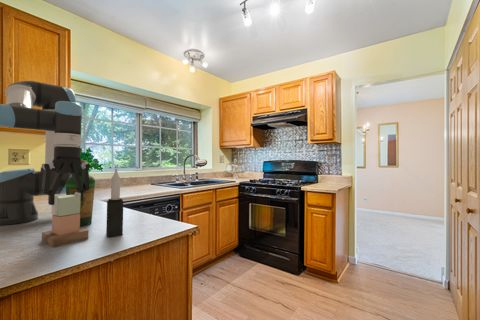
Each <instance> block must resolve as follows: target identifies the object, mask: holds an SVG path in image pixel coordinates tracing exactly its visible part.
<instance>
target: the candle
mask: <svg viewBox="0 0 480 320" xmlns="http://www.w3.org/2000/svg"><path fill="white" fill-rule="evenodd" d="M118 173H119V172H118V169H117V168H115V169H114V172H113V175H112V176H111V182H110V183H111V185H110V187H111V188H110V189H111V190H110V198H109V199H108V200H107V202H106V232H105V234H106V237H107V238H116V237H120V236H122V235H124V234H123V230H124V200H123V198H122V197H121V176H120V175H119V174H118Z"/></svg>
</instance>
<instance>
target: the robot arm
mask: <svg viewBox="0 0 480 320" xmlns="http://www.w3.org/2000/svg"><path fill="white" fill-rule="evenodd" d="M4 94H5V98H6V100H5V103H4V104H3V103H0V127H1V128H2V127H3V128H9V129H11V128H12V129H24V130H34V131H37V130H38V131H45V147H44V148H45V149H44V150H45V152H44V153H45V155H44V163H42V164H41V167H40V170H39V171H38V170H37V171H36V169H35V168H31V167H30V168H20V169H19V168H17V169H9V170H4V171H1V172H0V226H7V225H14V224H15V225H18V224H22V223H28V222H31V221H32V222H33V221H35V220H37V219H38V218H39V213H38V212H39V211H38V210H37V207H36V205H35V202H34V198H35V197H39V196H47V197H48V203H47V204H48V205H49V206H51V215H57V210H58V196H61V195H66V181H67V180H68V178H70V177H71V176H72V177H73V180H74V183H75V186H76V189H77V191H78V192H76V193H75V195H77V196H80V201H83V193H84V192H85V191H87V190H89V175H90V171H89V170H90V166H91V164H90V163H88V164H85V163H82V161H81V160H82V159H81V157H82V148H81V146H82V124H83V123H82V121H83V117H82V116H83V110H82V109H83V107H82V105H81V104H79V103H77V101H76V100H77V99H76V94H75V92H74V90H73V89H72V88H69V87H65V86H60V85H55V84H51V83H44V82H39V81H36V80H22V81H21V80H20V81H15V82H12V83H11V84H9V85H8V86H7V87H6V88H5V91H4ZM35 107H37V108H35ZM40 108H41V109H40ZM80 166H81V168H82V183H83V186H82V183H81V180H80V177H79V172H78V168H79V167H80Z"/></svg>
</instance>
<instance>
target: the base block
mask: <svg viewBox="0 0 480 320" xmlns="http://www.w3.org/2000/svg"><path fill="white" fill-rule="evenodd" d="M89 232H90V231H89V229H86V228H84V227H82V226H80V231H76V232H72V233H67V234H63V235H57V234H55V233H53V232H52V229H51V230H47V231H42V232H41V242H42V241H43V242H42V243H44V244H46V245H48V246H50V247H52V248H57V247H62V246H64V245H68V244H72V243H73V244H74V243H76V242H80V241H84V240H89Z"/></svg>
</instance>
